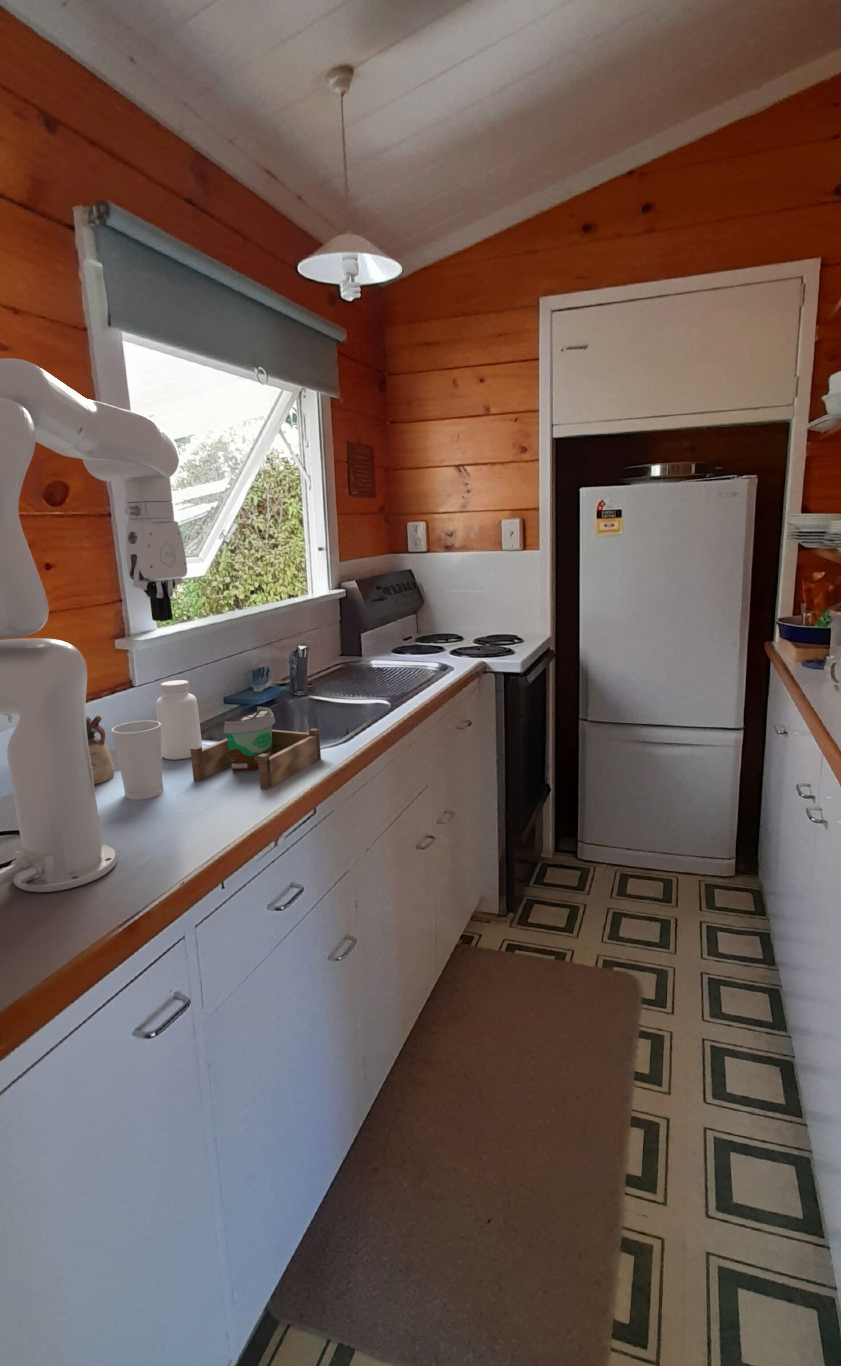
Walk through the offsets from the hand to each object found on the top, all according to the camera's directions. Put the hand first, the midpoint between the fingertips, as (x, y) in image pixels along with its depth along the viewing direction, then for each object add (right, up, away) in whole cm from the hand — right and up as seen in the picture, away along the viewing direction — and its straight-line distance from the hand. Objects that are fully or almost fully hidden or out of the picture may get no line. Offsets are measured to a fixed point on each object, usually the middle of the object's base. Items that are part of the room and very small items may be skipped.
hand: (162, 619), depth 130 cm
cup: (-3, -30, -2) cm, 31 cm away
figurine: (-15, -29, +7) cm, 33 cm away
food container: (+15, -27, +11) cm, 33 cm away
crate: (+15, -27, +9) cm, 32 cm away
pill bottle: (-3, -26, +20) cm, 33 cm away
